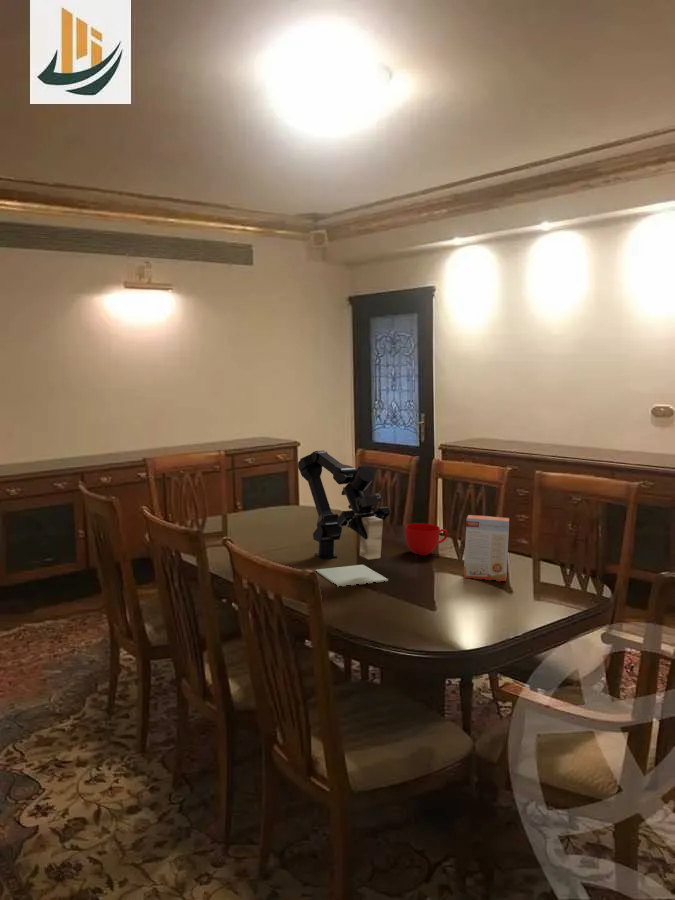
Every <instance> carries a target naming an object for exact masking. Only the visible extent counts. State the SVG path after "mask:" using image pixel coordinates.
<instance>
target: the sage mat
mask: <svg viewBox="0 0 675 900" xmlns="http://www.w3.org/2000/svg"><path fill="white" fill-rule="evenodd" d="M316 571H317V573H318V574H319V575H321V576H322V577H323V578H325V580H328V581H329V582H331V583H332V584H333V583H334V584H333V585H335V584H336V585H337V586H336V585H335V586H336V587H338V588H340V587H339V586H342V587H347V586H346V585H351V586H357V585H356V584H359V585H365V584H366V583H368V584H374V583H373V582H376V583H383V582H384V581H385V582H389V578H386V577H385V576H384V575H382V574H380V573H378V572H377V571H374V570H373V569H371V568H369V567H368V566H366V565H365V564H355V565H347V566H338V567H328V568H319V569H315V572H316ZM385 582H384V583H385Z"/></svg>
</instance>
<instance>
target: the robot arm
mask: <svg viewBox="0 0 675 900" xmlns="http://www.w3.org/2000/svg"><path fill="white" fill-rule="evenodd" d="M297 468H298V470H299V473H300V475H301V476H302V477H303V479H305V480H306V482H307V483H308V486H309V489H310V490H309V491H310V493H311V497H312V500H313V502H314V507H315V508H316V511H317V515H318V518H317V521H316V527H317V528H316V529H315V530H314V531H313V533H312V538H313V540H314V541H316V542H318V552H315V553H314V555H315V556H317V557H318V558H319V559H321V560H323V559H324V560H325V559H332V558H334V557H335V558H338V555H337V554H335V541H338V540H340V539H341V535H342V533H343V532H342V531H343V527H346V526H347V528H350V529H351V530H352V531H355V533H357V534H358V535H359V536H360V537H361V536H362V537H363V538H364V539H365V540H366V539H367V538H368V537H367V534H366V531H365V529H364V527H363V524H362V517H373V516H375V517H377V518H380V519H382V520H383V522H385V521H386V520H387V518H388V517H389V516H390V515H391V513H392V511H391V508H390V507H389V506H381V507H380V506H379V504H380V503H382V501H383V499H382V496H381V494H380V492H378V493H374V494H372V495H365V494H364V491H366V490H367V488H368V487H369V486H370V484H371V483H372V482H373V480H374V478H375V475H374V473H373V472H372V471H371V470H370V469H368V468H366V466H364V465H360V466H358V467H357V469H356V468H355V467H354V466H351V465H347V464H343V463H342V462H340V461H339V460H338V459H336V458H334V456H332V455H330V454H329V453H328V452H327V451H326V450H314V451H313V452H311V453H310V454H308V455H305V456H303V457H301V458H300V460H299V461H298V462H297ZM323 468H324V469H325V470H326V471H328V472H329V473H330V474H332V479H333V480H334V481H335V482H336V484H337V485H345V486H343V487H342V491H341V496H346V500H347V502H348V504H349V505H348V506H347V507H348V509H349V510H343V511H342V512H341V513H340V514H339V515H338V513H335V514H334V513H333V512H332V510H331V509H332V508H331V506H330V504H329V503H330V502H329V500H328V499H329V498H328V497H327V494H326V490H325V488H324V484H323V481H322V478H321V477H322V472H323ZM375 506H379V507H377V509H375V511H372V510H374V508H375ZM335 558H334V559H335Z"/></svg>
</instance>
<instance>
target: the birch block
mask: <svg viewBox="0 0 675 900" xmlns="http://www.w3.org/2000/svg"><path fill="white" fill-rule="evenodd" d="M383 522H384V521H383V520H382V519H380V518H377V517H375V516H373V517H362V524H363V527H364V529H365V531H366V534H367V537H368V538H367V539H366V540H365V539H364V538H363V537H362V536H361V535H360V541H359V542H360V545H359V557H362V558H364V559H366V560H375V559H380V558H381V557H382V556H381V554H382V540H383V539H382V538H383Z"/></svg>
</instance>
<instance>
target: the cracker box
mask: <svg viewBox="0 0 675 900" xmlns="http://www.w3.org/2000/svg"><path fill="white" fill-rule="evenodd" d="M465 526H466V527H465V544H464V561H463V562H464V563H463V565H464V567H463V578H464V579H471V578H473V579H472V580H482V579H485V580H484V581H491V580H496V581H495V582H501V581H505V582H506V580H507V571H508V570H507V569H508V552H509V535H510V534H509V531H510V517H501V516H500V517H499V516H498V517H497V516H490V515H489V516H488V515H473V514H468V515H467V517H466V523H465Z"/></svg>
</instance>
